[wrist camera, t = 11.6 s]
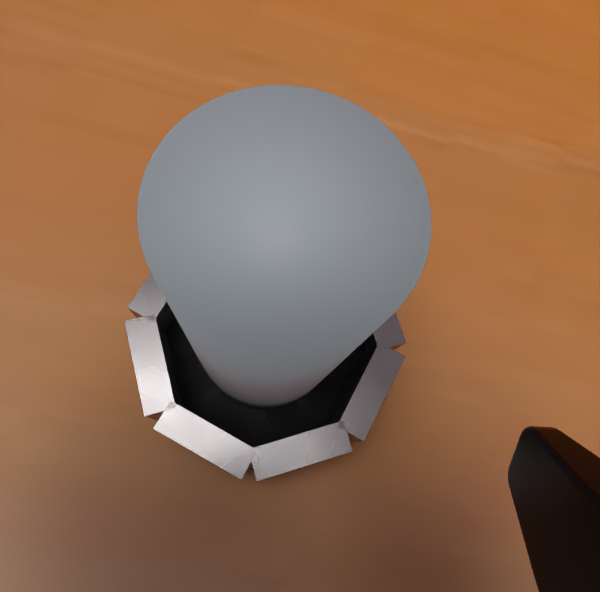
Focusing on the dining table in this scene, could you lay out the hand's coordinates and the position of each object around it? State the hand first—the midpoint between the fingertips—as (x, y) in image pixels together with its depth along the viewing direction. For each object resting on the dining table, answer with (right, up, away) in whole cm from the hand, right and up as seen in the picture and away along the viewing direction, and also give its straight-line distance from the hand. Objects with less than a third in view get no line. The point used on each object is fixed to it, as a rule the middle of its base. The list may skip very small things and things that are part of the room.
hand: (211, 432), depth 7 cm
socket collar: (0, 0, +14) cm, 14 cm away
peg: (0, 0, +13) cm, 13 cm away
